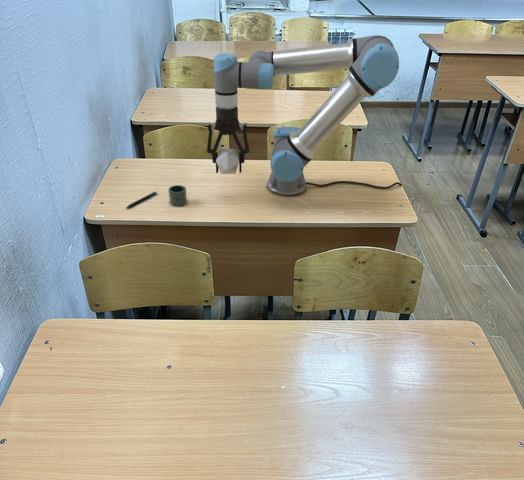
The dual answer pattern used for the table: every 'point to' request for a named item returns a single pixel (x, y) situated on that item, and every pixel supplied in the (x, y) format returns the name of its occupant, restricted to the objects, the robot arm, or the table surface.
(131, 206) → the pen
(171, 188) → the cup
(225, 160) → the die
